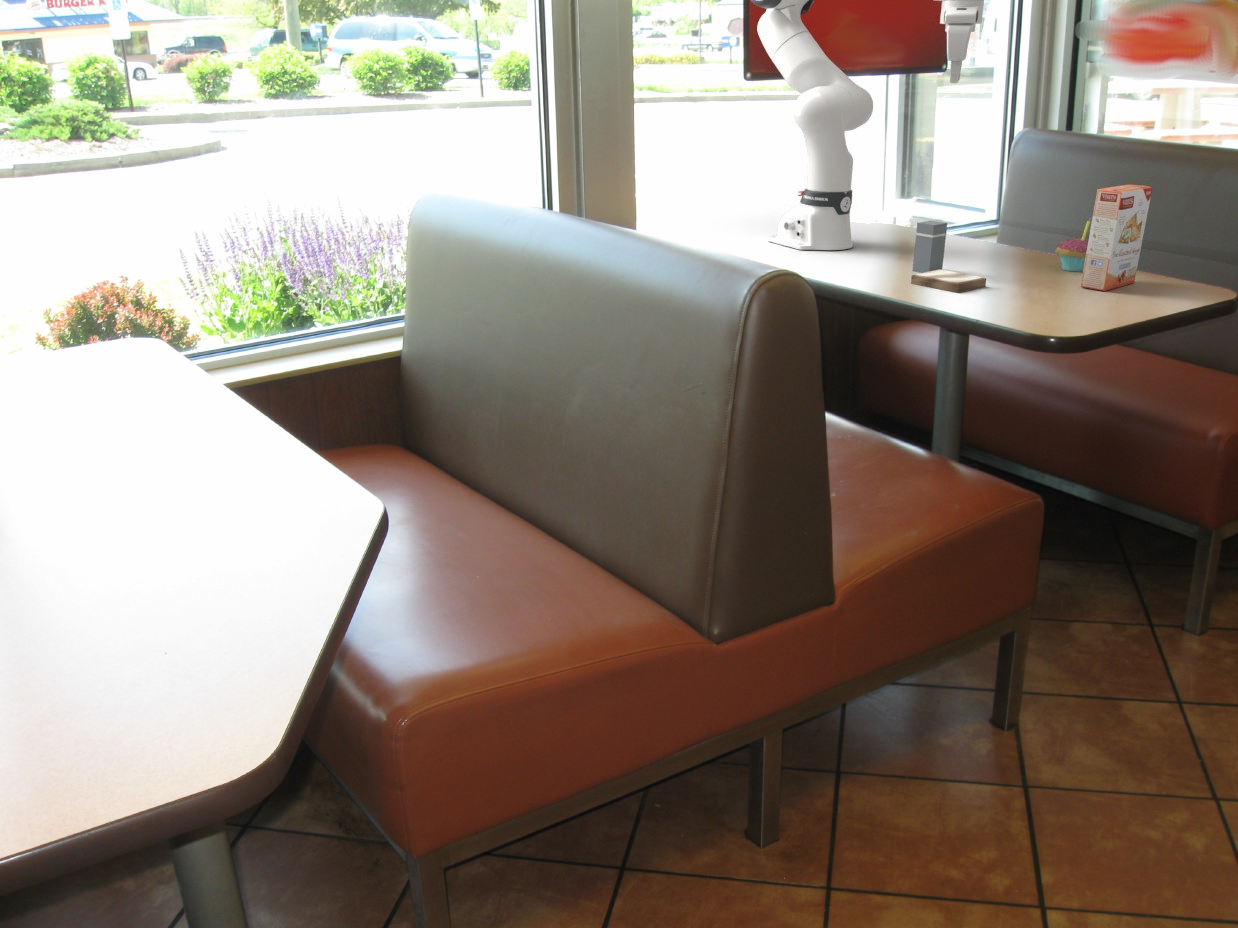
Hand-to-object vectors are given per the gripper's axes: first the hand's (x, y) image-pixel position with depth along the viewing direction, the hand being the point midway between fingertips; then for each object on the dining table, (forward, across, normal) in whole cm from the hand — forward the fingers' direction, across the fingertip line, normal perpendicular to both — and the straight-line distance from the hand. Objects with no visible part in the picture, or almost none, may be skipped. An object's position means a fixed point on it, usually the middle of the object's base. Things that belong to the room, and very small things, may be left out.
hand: (954, 82), depth 244 cm
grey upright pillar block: (+41, +9, -2) cm, 42 cm away
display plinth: (+41, +23, +4) cm, 47 cm away
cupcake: (+41, -3, +31) cm, 51 cm away
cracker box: (+41, +13, +37) cm, 57 cm away
